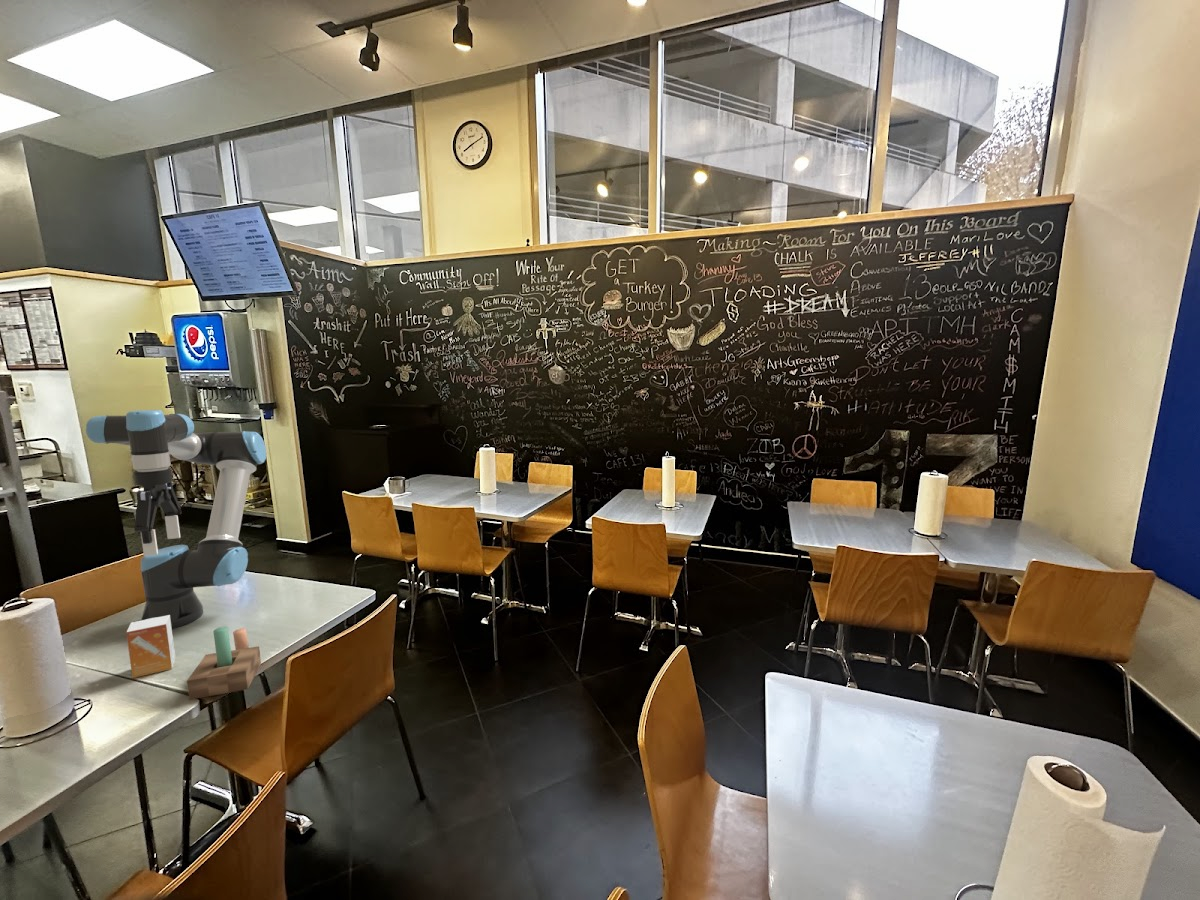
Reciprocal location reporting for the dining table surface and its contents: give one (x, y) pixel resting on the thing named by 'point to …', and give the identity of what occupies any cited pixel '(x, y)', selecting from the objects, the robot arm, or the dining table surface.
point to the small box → (150, 646)
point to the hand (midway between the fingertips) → (163, 546)
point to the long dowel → (222, 646)
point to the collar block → (224, 674)
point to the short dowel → (240, 639)
